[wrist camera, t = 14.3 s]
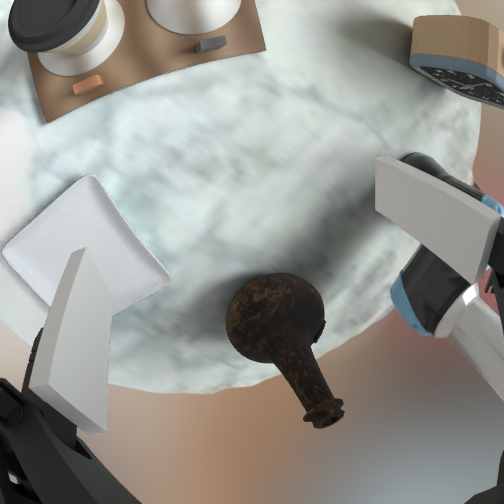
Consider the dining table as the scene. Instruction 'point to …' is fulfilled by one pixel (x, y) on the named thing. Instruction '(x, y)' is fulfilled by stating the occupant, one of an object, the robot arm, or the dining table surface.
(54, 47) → the coffee cup
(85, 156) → the dining table surface
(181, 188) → the dining table surface
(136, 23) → the tag board
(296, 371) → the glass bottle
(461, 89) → the alarm clock
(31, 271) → the salad plate
